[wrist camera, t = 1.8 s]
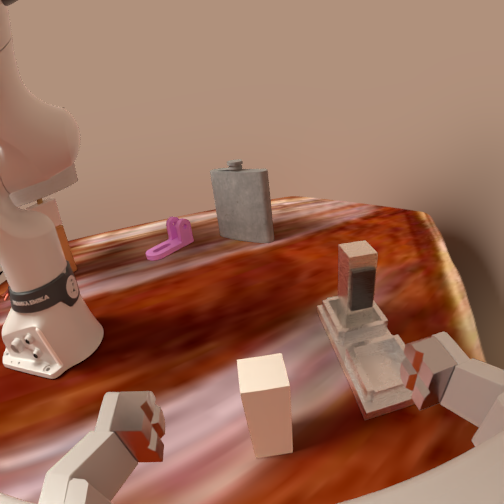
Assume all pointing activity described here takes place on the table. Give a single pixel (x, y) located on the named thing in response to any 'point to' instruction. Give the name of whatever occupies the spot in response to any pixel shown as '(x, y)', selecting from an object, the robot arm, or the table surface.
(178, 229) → the bracket
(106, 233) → the table surface
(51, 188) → the lamp
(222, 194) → the hip flask
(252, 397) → the loose rectangular block
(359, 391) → the pillar on stepped tray
